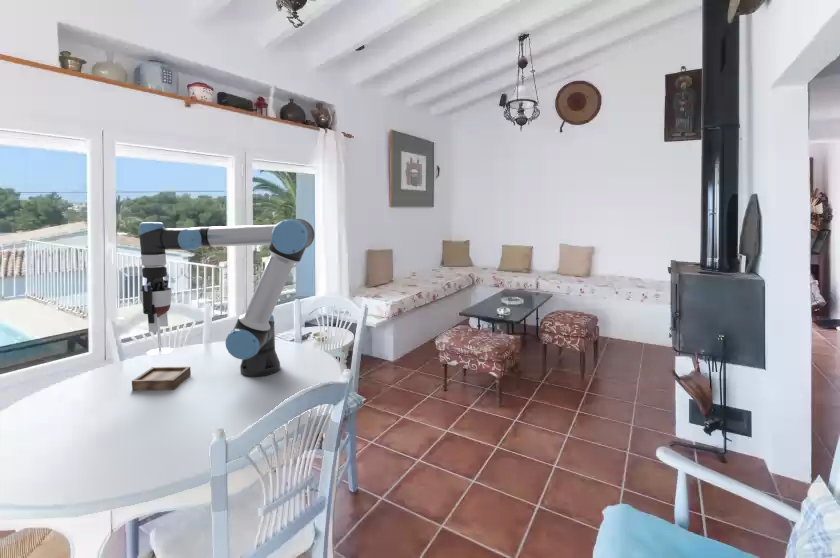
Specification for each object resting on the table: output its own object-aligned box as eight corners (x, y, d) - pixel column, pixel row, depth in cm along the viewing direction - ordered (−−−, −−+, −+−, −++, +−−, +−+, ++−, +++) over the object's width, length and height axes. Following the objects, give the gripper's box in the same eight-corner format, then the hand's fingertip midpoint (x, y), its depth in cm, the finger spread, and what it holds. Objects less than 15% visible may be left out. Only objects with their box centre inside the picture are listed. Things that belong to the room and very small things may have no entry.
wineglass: (162, 356, 155) (157, 292, 151) (138, 353, 157) (133, 290, 153) (181, 348, 164) (177, 288, 160) (158, 346, 165) (153, 286, 162)
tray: (190, 375, 169) (190, 366, 169) (173, 389, 156) (173, 380, 155) (152, 375, 168) (152, 367, 168) (132, 390, 154) (131, 381, 154)
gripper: (157, 262, 165) (161, 322, 168) (127, 269, 145) (132, 336, 149) (177, 262, 165) (181, 322, 169) (150, 269, 146) (155, 336, 149)
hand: (158, 328), depth 159 cm, fingers closed on wineglass, 7 cm apart
